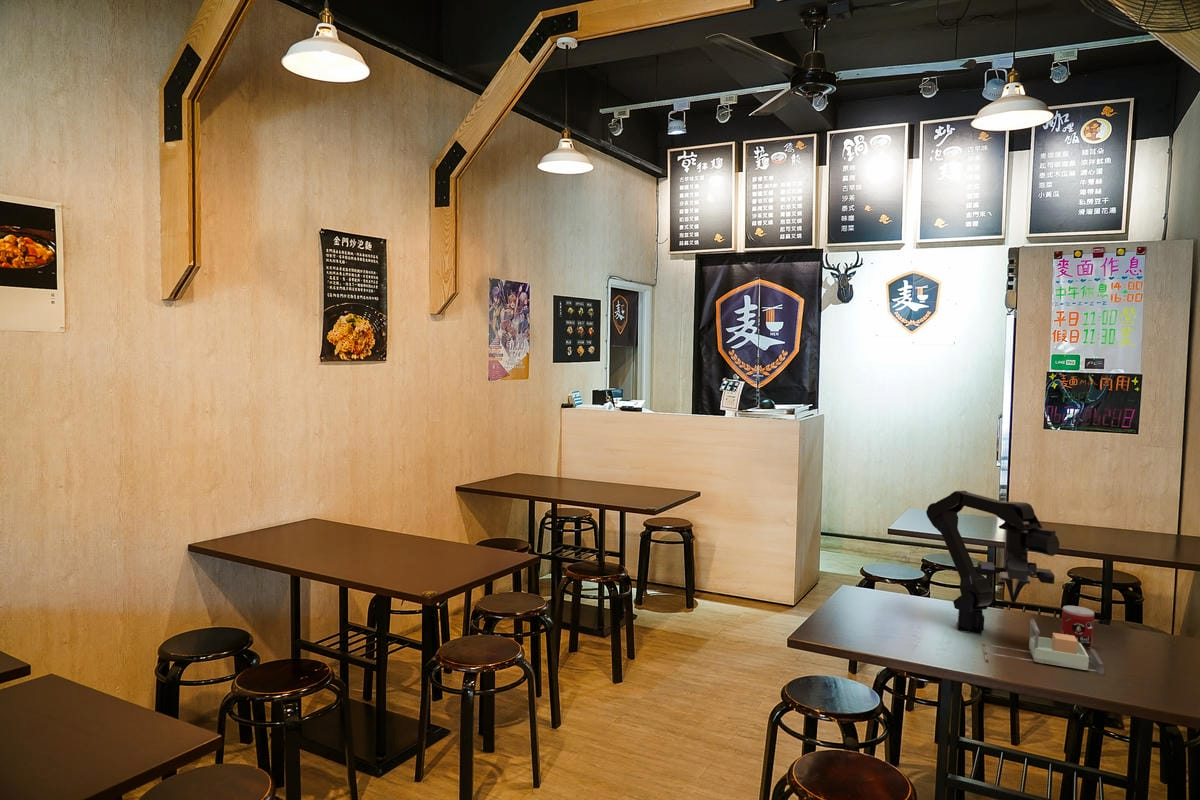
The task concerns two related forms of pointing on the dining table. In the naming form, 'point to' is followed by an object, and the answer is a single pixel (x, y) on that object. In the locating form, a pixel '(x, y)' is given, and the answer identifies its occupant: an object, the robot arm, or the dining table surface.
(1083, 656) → the tray with handle
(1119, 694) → the dining table surface
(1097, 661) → the track
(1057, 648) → the block
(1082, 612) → the canned food
